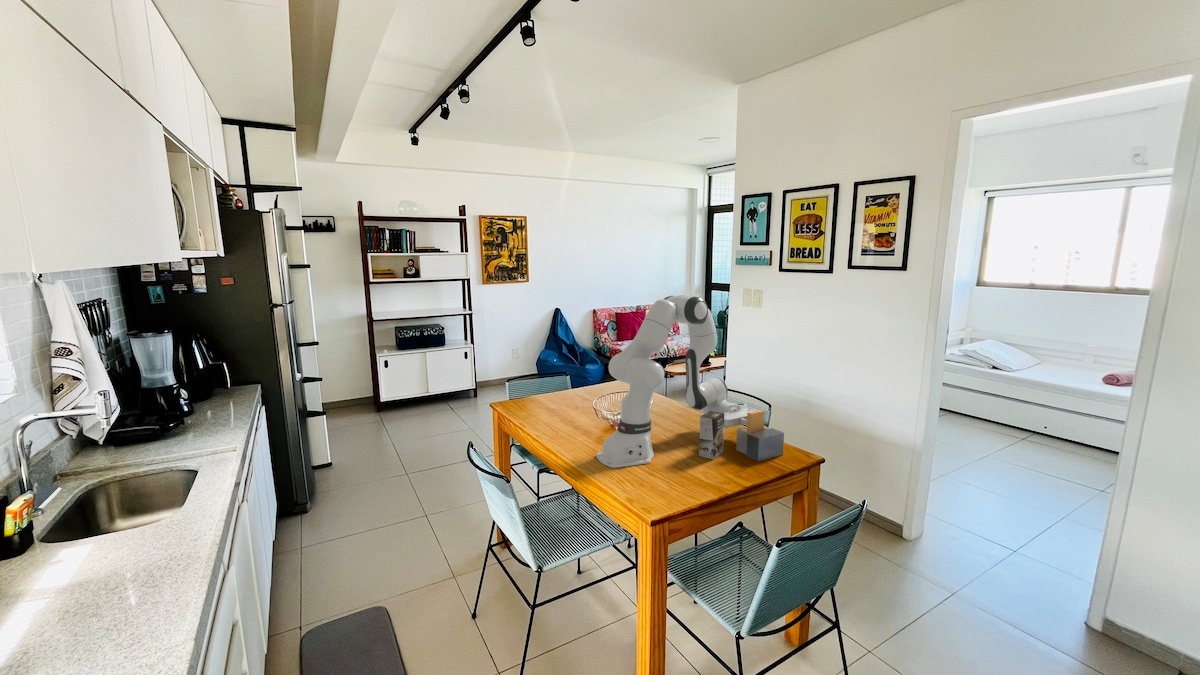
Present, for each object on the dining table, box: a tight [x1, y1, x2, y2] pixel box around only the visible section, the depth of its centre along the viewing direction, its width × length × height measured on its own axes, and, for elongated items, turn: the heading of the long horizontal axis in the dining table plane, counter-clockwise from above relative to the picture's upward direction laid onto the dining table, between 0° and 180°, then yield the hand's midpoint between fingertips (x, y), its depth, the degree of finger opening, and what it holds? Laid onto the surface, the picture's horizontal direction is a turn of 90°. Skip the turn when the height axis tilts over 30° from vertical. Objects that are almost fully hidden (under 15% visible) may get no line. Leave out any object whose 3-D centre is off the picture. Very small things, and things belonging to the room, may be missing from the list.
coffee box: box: [698, 411, 725, 460], centre depth 189 cm, size 9×6×16 cm
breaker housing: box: [735, 425, 785, 463], centre depth 191 cm, size 13×12×9 cm
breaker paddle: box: [746, 409, 765, 433], centre depth 192 cm, size 7×2×10 cm, turn 118°
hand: (753, 423), depth 192 cm, fingers closed, pressing on breaker paddle
